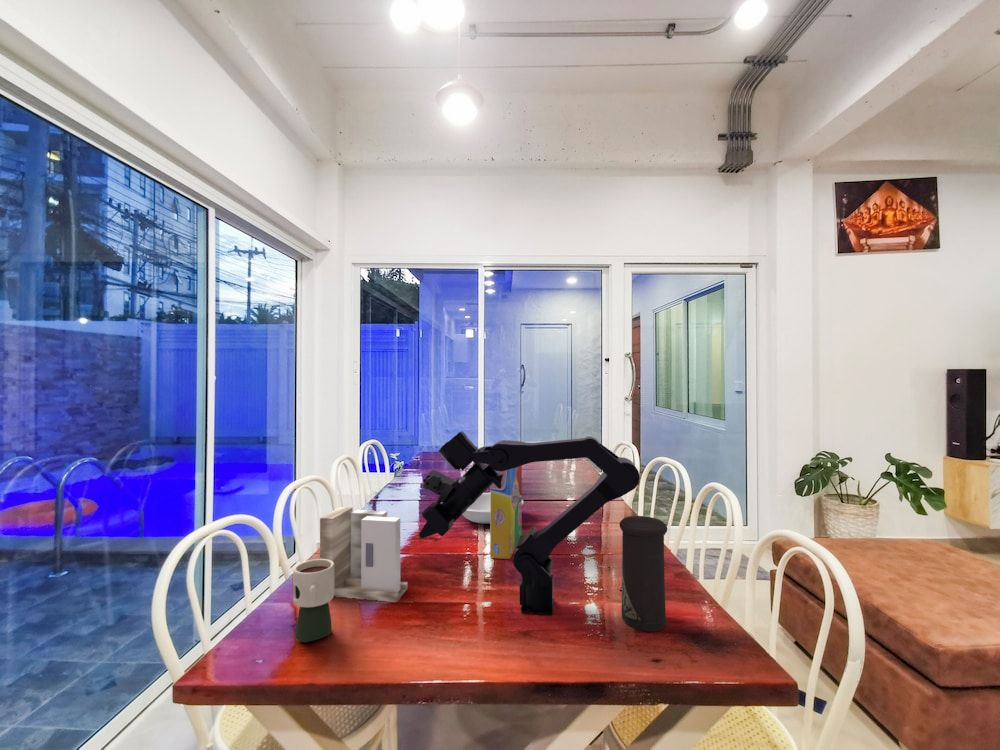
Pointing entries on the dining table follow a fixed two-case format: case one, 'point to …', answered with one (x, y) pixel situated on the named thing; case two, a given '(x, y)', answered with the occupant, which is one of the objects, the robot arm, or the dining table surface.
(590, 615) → the dining table surface
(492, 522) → the game box
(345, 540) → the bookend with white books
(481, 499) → the soup bowl
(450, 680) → the dining table surface
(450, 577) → the dining table surface
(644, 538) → the container
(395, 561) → the door
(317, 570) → the character mug
